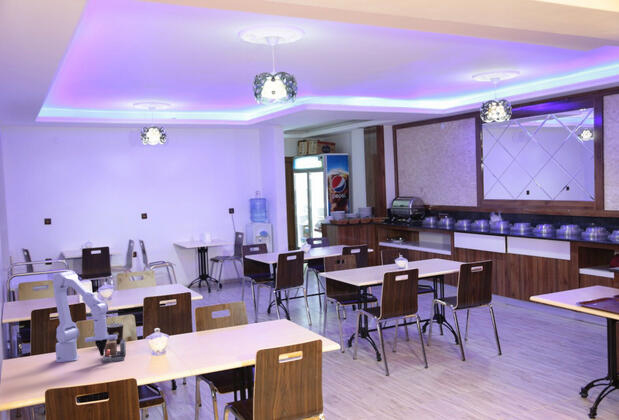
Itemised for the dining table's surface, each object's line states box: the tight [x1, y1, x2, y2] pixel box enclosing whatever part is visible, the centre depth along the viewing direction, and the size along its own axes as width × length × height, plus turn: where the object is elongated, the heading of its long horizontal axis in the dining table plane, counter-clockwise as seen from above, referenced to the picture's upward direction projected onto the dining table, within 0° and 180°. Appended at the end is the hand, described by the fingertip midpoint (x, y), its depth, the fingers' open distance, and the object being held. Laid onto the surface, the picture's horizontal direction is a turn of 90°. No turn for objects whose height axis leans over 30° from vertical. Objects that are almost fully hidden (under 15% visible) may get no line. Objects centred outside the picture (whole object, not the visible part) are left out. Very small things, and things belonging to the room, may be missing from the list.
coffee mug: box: [107, 322, 124, 346], centre depth 311 cm, size 12×9×10 cm
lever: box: [103, 349, 111, 360], centre depth 277 cm, size 3×3×4 cm
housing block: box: [104, 340, 118, 355], centre depth 286 cm, size 5×5×6 cm
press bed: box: [101, 338, 127, 364], centre depth 283 cm, size 10×14×7 cm
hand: (102, 355), depth 276 cm, fingers closed
